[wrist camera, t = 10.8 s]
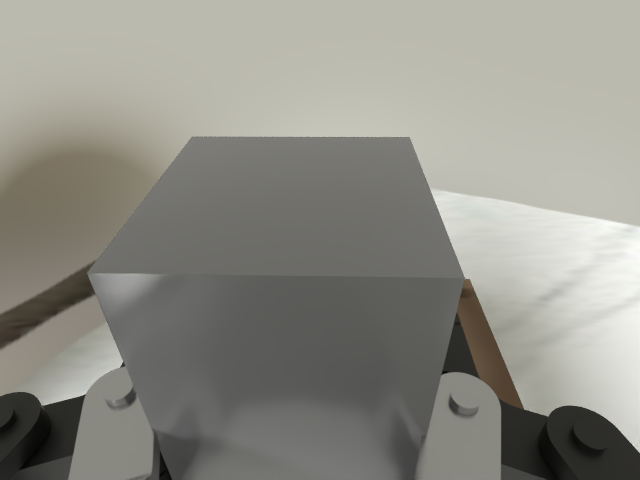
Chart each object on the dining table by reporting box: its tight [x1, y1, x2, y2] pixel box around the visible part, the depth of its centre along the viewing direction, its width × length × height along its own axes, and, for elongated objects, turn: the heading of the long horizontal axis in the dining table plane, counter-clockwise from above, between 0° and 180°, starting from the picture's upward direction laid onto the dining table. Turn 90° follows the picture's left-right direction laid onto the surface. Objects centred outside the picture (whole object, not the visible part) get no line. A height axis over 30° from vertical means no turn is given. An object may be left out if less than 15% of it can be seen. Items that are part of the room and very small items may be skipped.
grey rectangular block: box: [87, 137, 465, 480], centre depth 10 cm, size 4×4×11 cm
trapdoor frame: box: [457, 279, 524, 409], centre depth 28 cm, size 20×20×14 cm
